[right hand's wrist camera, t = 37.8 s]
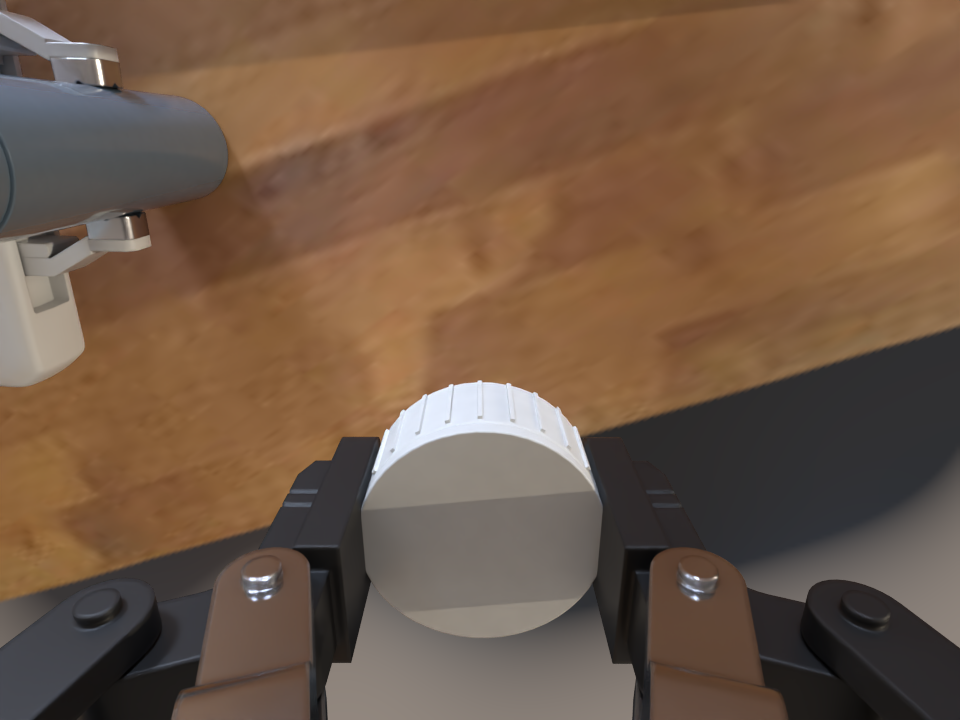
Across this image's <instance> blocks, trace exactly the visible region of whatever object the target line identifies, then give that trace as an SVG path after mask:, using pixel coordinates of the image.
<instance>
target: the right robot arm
mask: <svg viewBox="0 0 960 720" xmlns="http://www.w3.org/2000/svg"><path fill="white" fill-rule="evenodd" d="M582 444H583V447H584V450H585V453H586V456H587V459H588V462H589V465H590V468H591V471H592V474H593V477H594V480H595V483H596V486H597V489H598V493H599V496H600V499H601V502H602V505H603V512H602V524H601V535H600V547H599V558H598V570H597V576H596V578H595V580H594V581H593V587H594V591H595V594H596V599H597V603H598V606H599V611H600V615H601V618H602V623H603V626H604V630H605V635H606V638H607V642H608V646H609V650H610V654H611V658H612V662H613V664H632V665H633V668H634V672H635V675H636V683H635V691H634V699H633V718H632V720H960V648H959V647H957V646H956V645H955V644H953V643H952V642H951V641H949V640H948V639H947V638H945V637H944V636H943V635H941V634H940V633H939V632H938V631H936V630H935V629H934V628H932V627H931V626H930V625H928V624H927V623H926V622H924V621H923V620H922V619H920V618H919V617H918V616H916V615H915V614H914V613H912V612H911V611H910V610H908V609H907V608H906V607H904V606H903V605H902V604H900V603H899V602H897V601H896V600H894V599H893V598H892V597H890V596H888V595H886V594H884V593H883V592H881V591H878V590H876V589H874V588H871V587H869V586H866V585H863V584H860V583H856V582H851V581H846V580H826V581H822V582H819V583H816V584H815V585H814V586H812V587H811V589H810V590H809V592H808V595H807V599H806V603H803V602H799V601H795V600H790V599H786V598H781V597H777V596H773V595H768V594H765V593H761V592H758V591H755V590H752V589H750V588H747V587H746V583H745V580H744V578H743V577H742V575H741V574H740V572H739V571H738V570H737V569H736V568H735V567H734V566H733V565H732V564H730V563H729V562H728V561H726V560H725V559H723V558H721V557H719V556H717V555H715V554H713V553H710V552H707V551H706V549H705V547H704V545H703V544H702V542H701V540H700V538H699V536H698V534H697V533H696V531H695V529H694V527H693V525H692V523H691V522H690V520H689V518H688V516H687V514H686V512H685V511H684V509H683V508H681V503H680V501H679V500H678V498H677V496H676V494H674V490H673V489H672V487H671V485H670V483H669V481H668V479H667V478H666V476H665V474H663V473H662V472H661V471H659V470H658V469H657V468H656V467H654V466H653V465H652V464H650V463H649V462H648V461H632V460H631V458H630V456H629V454H628V452H627V449H626V447H625V445H624V443H623V441H622V439H621V438H620V437H585V438H584V439H583V443H582ZM380 445H381V443H380V439H379V437H343V438H342V439H341V441H340V443H339V445H338V447H337V450H336V452H335V454H334V456H333V458H332V461H315V462H314V463H312V464H311V465H310V466H308V467H307V468H306V469H305V470H303V471H302V472H301V473H299V474H298V476H297V478H296V480H295V481H294V483H293V485H292V487H291V489H290V493H289V494H287V496H286V498H285V500H284V502H283V506H282V507H281V508H280V509H279V511H278V513H277V515H276V517H275V519H274V521H273V522H272V524H271V526H270V528H269V530H268V532H267V534H266V536H265V537H264V539H263V541H262V543H261V545H260V547H259V549H258V550H256V551H253V552H250V553H247V554H245V555H243V556H241V557H239V558H237V559H235V560H234V561H232V562H231V563H230V564H228V565H227V566H226V567H225V568H224V569H223V570H222V571H221V572H220V574H219V575H218V577H217V578H216V580H215V583H214V587H213V589H210V590H207V591H204V592H201V593H197V594H193V595H188V596H184V597H179V598H175V599H171V600H166V601H162V602H157V601H156V597H155V593H154V590H153V588H152V587H151V586H150V584H148V583H147V582H145V581H142V580H140V579H134V578H119V579H112V580H107V581H104V582H100V583H97V584H94V585H92V586H89V587H87V588H84V589H82V590H80V591H78V592H76V593H75V594H73V595H71V596H70V597H68V598H67V599H65V600H64V601H62V602H61V603H60V604H58V605H57V606H56V607H54V608H53V609H52V610H50V611H49V612H48V613H46V614H45V615H44V616H42V617H41V618H40V619H38V620H37V621H36V622H34V623H33V624H32V625H30V626H29V627H28V628H26V629H25V630H24V631H22V632H21V633H20V634H18V635H17V636H16V637H15V638H13V639H12V640H11V641H9V642H8V643H7V644H5V645H4V646H3V647H1V648H0V720H328V718H327V699H326V691H325V685H326V682H327V679H328V675H329V671H330V668H331V664H332V663H351V661H352V657H353V653H354V649H355V644H356V641H357V636H358V632H359V628H360V624H361V620H362V616H363V611H364V608H365V603H366V599H367V595H368V591H369V587H370V583H371V580H370V578H369V577H368V575H367V573H366V567H365V556H364V544H363V532H362V520H361V508H362V504H363V501H364V498H365V495H366V492H367V488H368V485H369V482H370V479H371V476H372V470H373V467H374V464H375V461H376V458H377V455H378V451H379V448H380Z"/></svg>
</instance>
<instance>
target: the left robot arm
mask: <svg viewBox="0 0 960 720" xmlns="http://www.w3.org/2000/svg"><path fill="white" fill-rule="evenodd" d="M37 54H38V55H40V56H41V57H43V58H45V59H47V60H49V61H51V65H52V69H53V73H54V78H55V81H60V82H68V83H76V84H84V85H91V86H99V87H108V88H115V89H123V83H122V77H121V71H120V64H119V63H118V62H119V59H118V53H117V49H116V48H112V47H108V46H103V45H98V44H89V43H72V42H70V41H69V40H67V39H66V38H64V37H62V36H61V35H59V34H57V33H56V32H54V31H52V30H51V29H49V28H47V27H46V26H44V25H43V24H41V23H39V22H38V21H36V20H34V19H33V18H31V17H28V16H24V15H20V14H16V13H12V12H8V10H7V6H6V1H5V0H0V74H4V75H12V76H20V77H23V75H22V70H21V66H20V62H19V57H18V56H36V55H37ZM86 227H87V233H88V236H86V237H84V238H83V239H81V240H79V238H78V237H76V236H60V234H59V230H57V231H53V232H49V233H44V234H40V235H35V236H31V237H26V238H22V239H17V240H13V241H9V242H4V243H0V386H5V387H26V386H31V385H34V384H36V383H39V382H41V381H44V380H46V379H48V378H50V377H52V376H54V375H56V374H57V373H59V372H60V371H62V370H64V369H65V368H66V367H68V366H69V365H70V364H71V363H72V362H74V361H75V360H76V359H77V358H78V357H79V356H80V355H81V354H82V353H83V351H84V349H85V343H84V337H83V333H82V329H81V325H80V320H79V316H78V312H77V307H76V303H75V299H74V294H73V290H72V286H71V282H70V277H69V273H68V272H70V271H73V270H76V269H79V268H82V267H85V266H87V265H89V264H90V263H92V262H93V261H95V260H96V259H98V258H100V257H101V256H103V255H104V254H106V253H107V252H131V251H138V250H142V249H144V248H147V247H150V246H151V241H150V235H149V229H148V224H147V218H146V213H145V212H137V213H133V214H129V215H124V216H120V217H115V218H111V219H106V220H102V221H97V222H93V223H89V224H86Z"/></svg>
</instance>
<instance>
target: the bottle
mask: <svg viewBox="0 0 960 720" xmlns="http://www.w3.org/2000/svg"><path fill="white" fill-rule="evenodd" d="M227 164H228V150H227V144H226V141H225V138H224V135H223V133H222V131H221V129H220V127H219V125H218V124H217V122H216V121H215V119H214V118H213V117H212V116H211V115H210V114H209V113H208V112H207V111H206V110H205V109H204V108H202V107H201V106H200V105H198V104H197V103H195V102H193V101H191V100H189V99H186V98H183V97H179V96H172V95H164V94H156V93H148V92H140V91H132V90H124V89H115V88H108V87H99V86H91V85H84V84H76V83H68V82H60V81H52V80H44V79H36V78H28V77H20V76H12V75H4V74H0V243H4V242H9V241H13V240H17V239H22V238H26V237H31V236H35V235H40V234H44V233H49V232H53V231H57V230H62V229H66V228H71V227H75V226H80V225H84V224H89V223H93V222H97V221H102V220H106V219H111V218H115V217H120V216H124V215H129V214H133V213H137V212H142V211H146V210H151V209H155V208H160V207H164V206H169V205H173V204H178V203H182V202H186V201H191V200H195V199H199V198H202V197H204V196H207V195H208V194H210V193H211V192H213V191H214V190H215V189H216V188H217V187H218V186H219V184H220V183H221V181H222V180H223V178H224V175H225V173H226V169H227Z"/></svg>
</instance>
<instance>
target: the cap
mask: <svg viewBox="0 0 960 720" xmlns="http://www.w3.org/2000/svg"><path fill="white" fill-rule="evenodd" d="M602 512H603V505H602V502H601V499H600V496H599V493H598V489H597V486H596V483H595V480H594V477H593V474H592V471H591V468H590V465H589V462H588V459H587V456H586V453H585V450H584V447H583V444H582V442H581V438H580V435H579V432H578V429H577V427H576V426H574V427H572V425H571V424H570V423H569V421H568V420H567V419H566V418H565V417H564V416H563V415H562V413H561V410H560V408H559V407H556V408H555V407H553V406H552V405H551V404H549V403H548V402H547V401H545V400H544V399H542V398H540V397H538V394H537V393H535V392H534V393H530V392H528V391H525V390H523V389H520V388H517V387H513V386H511V384H509V383H507V384H506V385H505V384H498V383H482V381H478V382H476V383H466V384H460V385H455V386H454V385H453V384H451V385H449V387H447V388H444V389H442V390H439V391H436V392H434V393H432V394H430V395H428V396H427V394H425V395H423V397H422V399H421V400H419V401H418V402H416V403H415V404H413V405H412V406H410V407H409V408H408V409H407V410H406V411H405V410H404V409H403V410H402V411H401V413H400V417H399V418H398V419H397V420H396V422H395V423H394V424H393V425H392V427H391V428H390V430H387V429H386V431H385V433H384V436H383V439H382V442H381V445H380V448H379V451H378V455H377V458H376V461H375V464H374V467H373V470H372V476H371V479H370V482H369V485H368V488H367V492H366V495H365V498H364V501H363V504H362V508H361V520H362V532H363V544H364V556H365V567H366V573H367V575H368V577H369V578H370V580H371V582H372V584H373V585H374V587H375V588H376V589H377V590H378V592H379V593H380V594H381V596H382V597H383V598H384V599H385V600H386V601H387V602H388V603H389V604H390V605H391V606H393V607H394V608H395V609H397V610H398V611H399V612H400V613H402V614H403V615H405V616H406V617H408V618H410V619H411V620H413V621H415V622H417V623H419V624H421V625H423V626H425V627H428V628H430V629H433V630H436V631H439V632H442V633H446V634H451V635H455V636H462V637H471V638H492V637H503V636H508V635H514V634H518V633H522V632H525V631H528V630H532V629H534V628H537V627H539V626H541V625H544V624H546V623H548V622H549V621H551V620H553V619H555V618H557V617H558V616H560V615H561V614H563V613H564V612H565V611H567V610H568V609H569V608H571V607H572V606H573V605H574V604H575V603H576V602H577V601H578V600H579V599H580V598H581V597H582V596H583V595H584V594H585V592H586V591H587V590H588V589H589V587H590V586H591V584H592V583H593V581H594V580H595V578H596V576H597V570H598V558H599V547H600V535H601V524H602Z"/></svg>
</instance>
